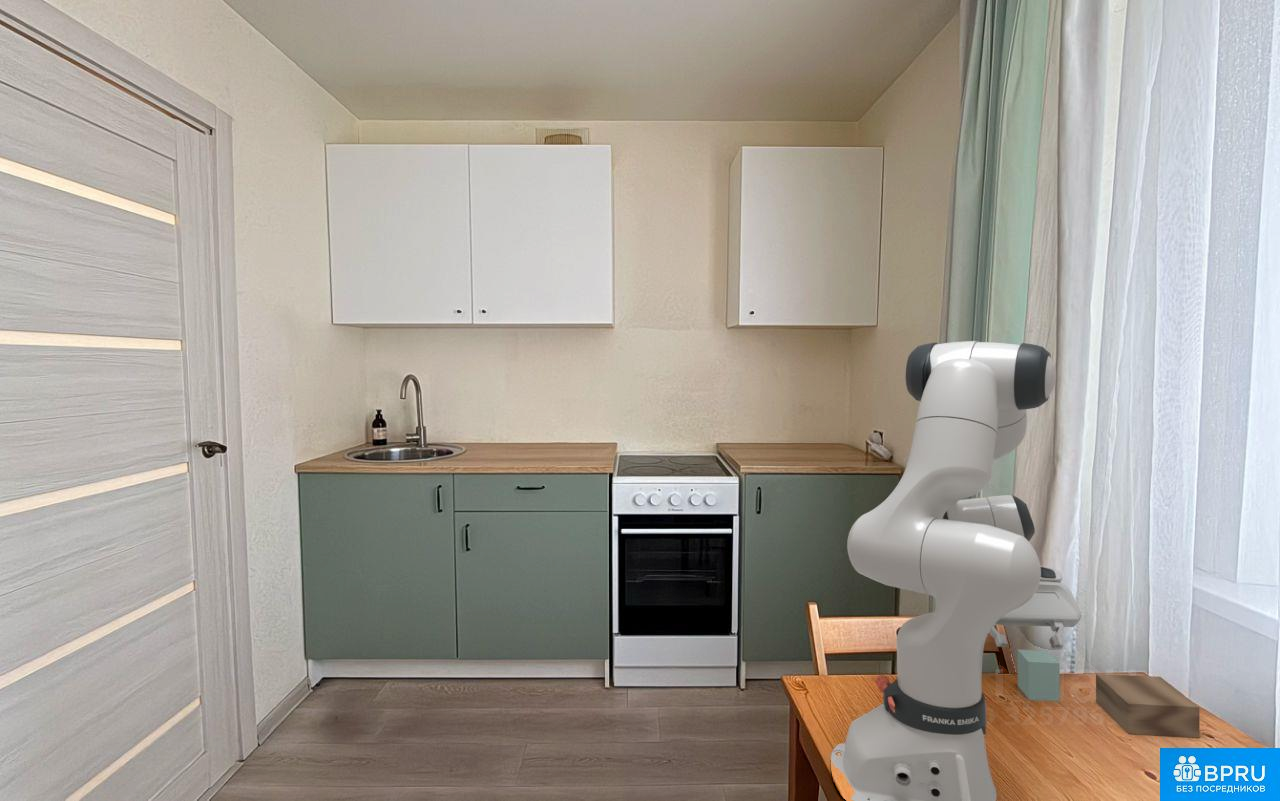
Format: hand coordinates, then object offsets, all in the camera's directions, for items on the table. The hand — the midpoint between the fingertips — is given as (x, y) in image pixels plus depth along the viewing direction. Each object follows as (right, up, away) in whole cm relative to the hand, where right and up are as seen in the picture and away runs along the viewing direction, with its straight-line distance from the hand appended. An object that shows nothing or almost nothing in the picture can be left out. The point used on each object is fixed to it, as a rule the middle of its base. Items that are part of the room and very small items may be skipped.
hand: (1029, 646), depth 119 cm
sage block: (0, -7, -3) cm, 8 cm away
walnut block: (+12, -7, -12) cm, 18 cm away
